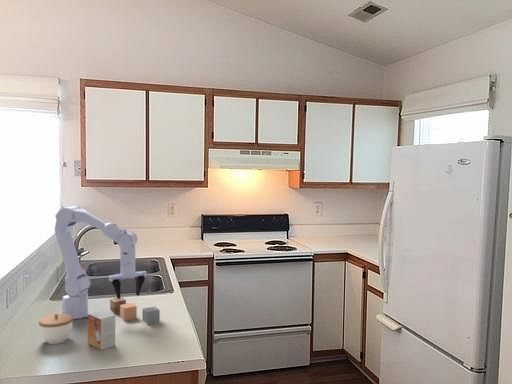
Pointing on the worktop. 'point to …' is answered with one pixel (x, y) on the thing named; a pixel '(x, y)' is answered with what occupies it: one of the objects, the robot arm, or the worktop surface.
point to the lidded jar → (56, 327)
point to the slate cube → (151, 315)
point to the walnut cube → (116, 304)
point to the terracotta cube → (128, 311)
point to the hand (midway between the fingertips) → (128, 296)
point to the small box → (101, 329)
